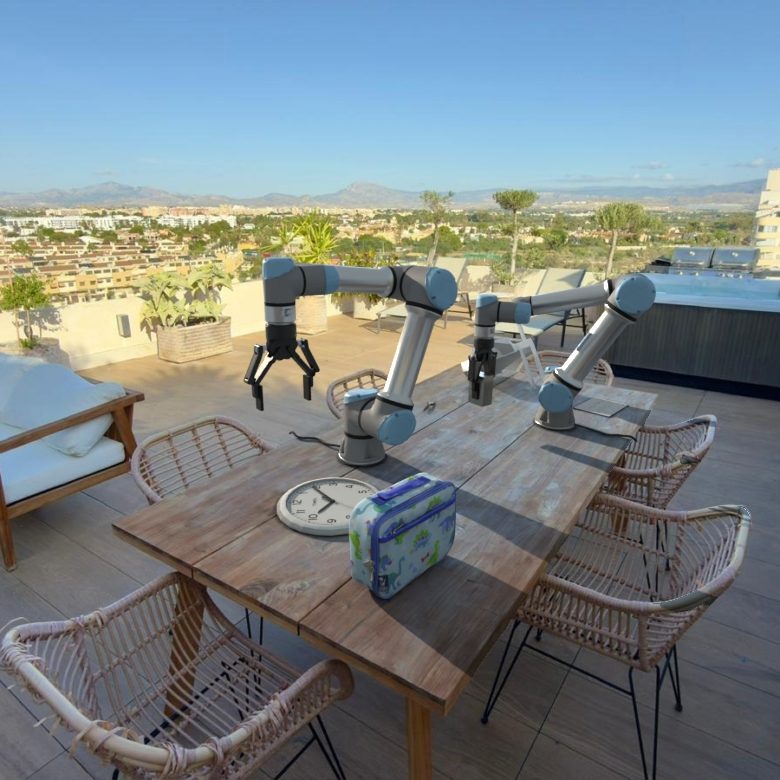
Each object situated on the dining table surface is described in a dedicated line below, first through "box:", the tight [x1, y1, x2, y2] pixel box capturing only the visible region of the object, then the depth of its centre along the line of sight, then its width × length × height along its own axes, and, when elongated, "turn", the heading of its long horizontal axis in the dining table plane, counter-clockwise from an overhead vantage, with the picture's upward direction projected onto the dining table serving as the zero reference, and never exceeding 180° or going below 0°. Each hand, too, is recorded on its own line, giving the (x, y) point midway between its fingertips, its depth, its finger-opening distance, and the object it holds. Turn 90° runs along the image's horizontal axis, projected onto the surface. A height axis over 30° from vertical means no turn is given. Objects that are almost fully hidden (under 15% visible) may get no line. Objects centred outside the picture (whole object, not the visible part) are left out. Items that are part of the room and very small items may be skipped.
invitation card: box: [573, 396, 629, 418], centre depth 226 cm, size 21×1×15 cm
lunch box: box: [348, 471, 457, 600], centre depth 113 cm, size 26×11×21 cm, turn 134°
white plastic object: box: [460, 324, 545, 391], centre depth 259 cm, size 37×45×31 cm
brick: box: [467, 372, 495, 408], centre depth 198 cm, size 8×5×12 cm
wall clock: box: [276, 476, 381, 537], centre depth 142 cm, size 30×2×30 cm
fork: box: [422, 395, 437, 412], centre depth 223 cm, size 3×16×2 cm, turn 160°
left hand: (284, 404), depth 134 cm, fingers open, 13 cm apart
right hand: (480, 397), depth 199 cm, fingers closed on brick, 5 cm apart
